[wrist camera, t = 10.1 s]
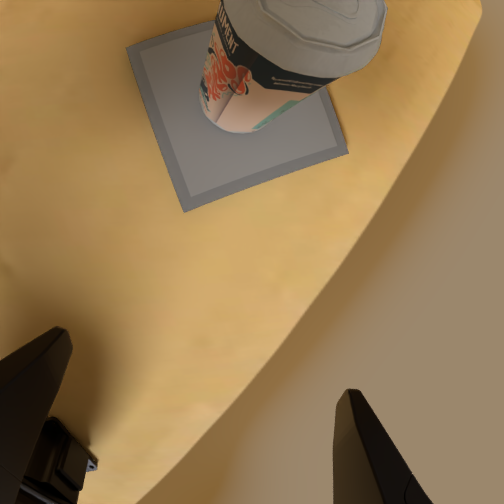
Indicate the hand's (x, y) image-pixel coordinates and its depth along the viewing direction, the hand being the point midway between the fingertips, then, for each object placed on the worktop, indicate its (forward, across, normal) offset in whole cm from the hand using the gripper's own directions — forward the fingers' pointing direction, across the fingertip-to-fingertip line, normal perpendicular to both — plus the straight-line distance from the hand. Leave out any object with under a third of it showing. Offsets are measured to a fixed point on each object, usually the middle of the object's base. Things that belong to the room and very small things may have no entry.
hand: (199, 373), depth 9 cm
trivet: (+15, +2, -6) cm, 16 cm away
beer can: (+14, +2, -6) cm, 15 cm away
